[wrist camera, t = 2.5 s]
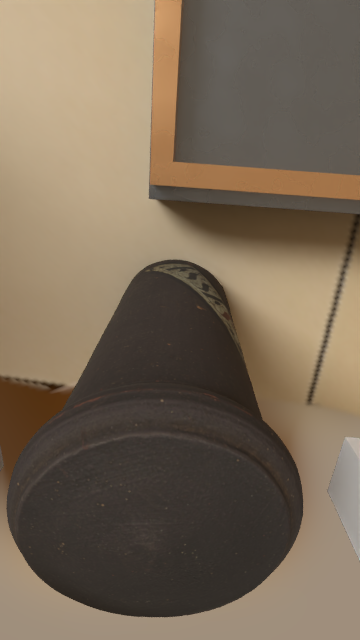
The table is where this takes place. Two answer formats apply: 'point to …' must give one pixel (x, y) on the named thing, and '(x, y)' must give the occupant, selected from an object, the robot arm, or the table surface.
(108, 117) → the table surface
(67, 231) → the table surface
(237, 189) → the framed panel with knob
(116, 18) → the table surface
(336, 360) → the table surface
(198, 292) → the container
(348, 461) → the robot arm
